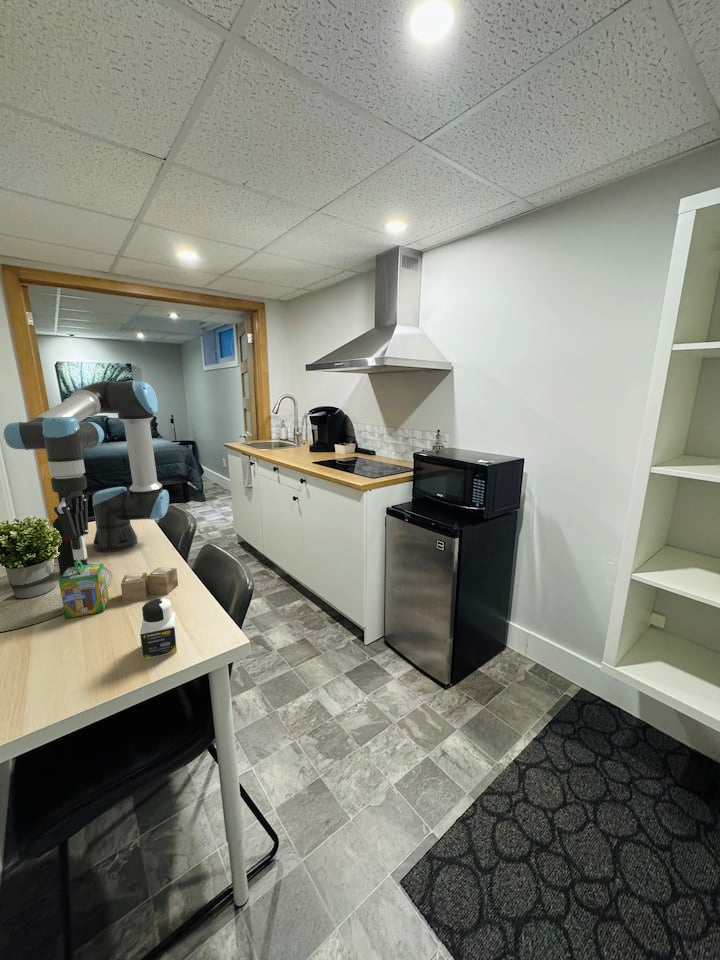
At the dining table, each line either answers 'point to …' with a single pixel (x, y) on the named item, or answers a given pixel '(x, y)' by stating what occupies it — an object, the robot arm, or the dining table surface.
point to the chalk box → (83, 589)
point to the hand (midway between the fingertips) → (80, 558)
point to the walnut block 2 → (162, 580)
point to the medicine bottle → (158, 629)
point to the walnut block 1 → (134, 587)
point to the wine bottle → (65, 550)
